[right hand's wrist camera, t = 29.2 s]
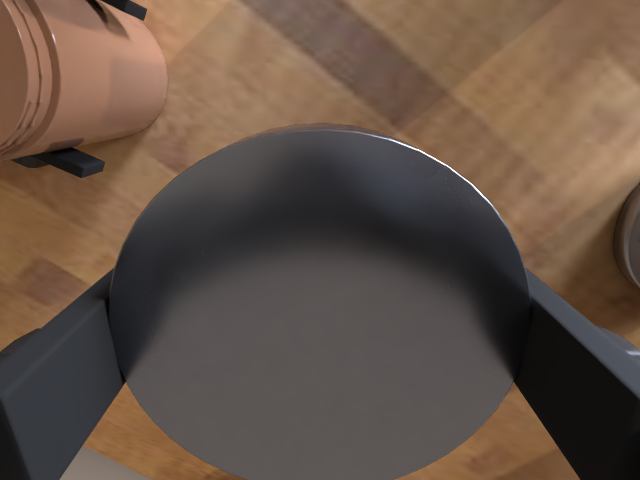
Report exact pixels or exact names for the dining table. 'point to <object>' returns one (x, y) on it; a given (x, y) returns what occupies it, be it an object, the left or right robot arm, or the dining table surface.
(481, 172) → the dining table surface
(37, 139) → the jar
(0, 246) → the dining table surface
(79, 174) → the left robot arm
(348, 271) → the lid
